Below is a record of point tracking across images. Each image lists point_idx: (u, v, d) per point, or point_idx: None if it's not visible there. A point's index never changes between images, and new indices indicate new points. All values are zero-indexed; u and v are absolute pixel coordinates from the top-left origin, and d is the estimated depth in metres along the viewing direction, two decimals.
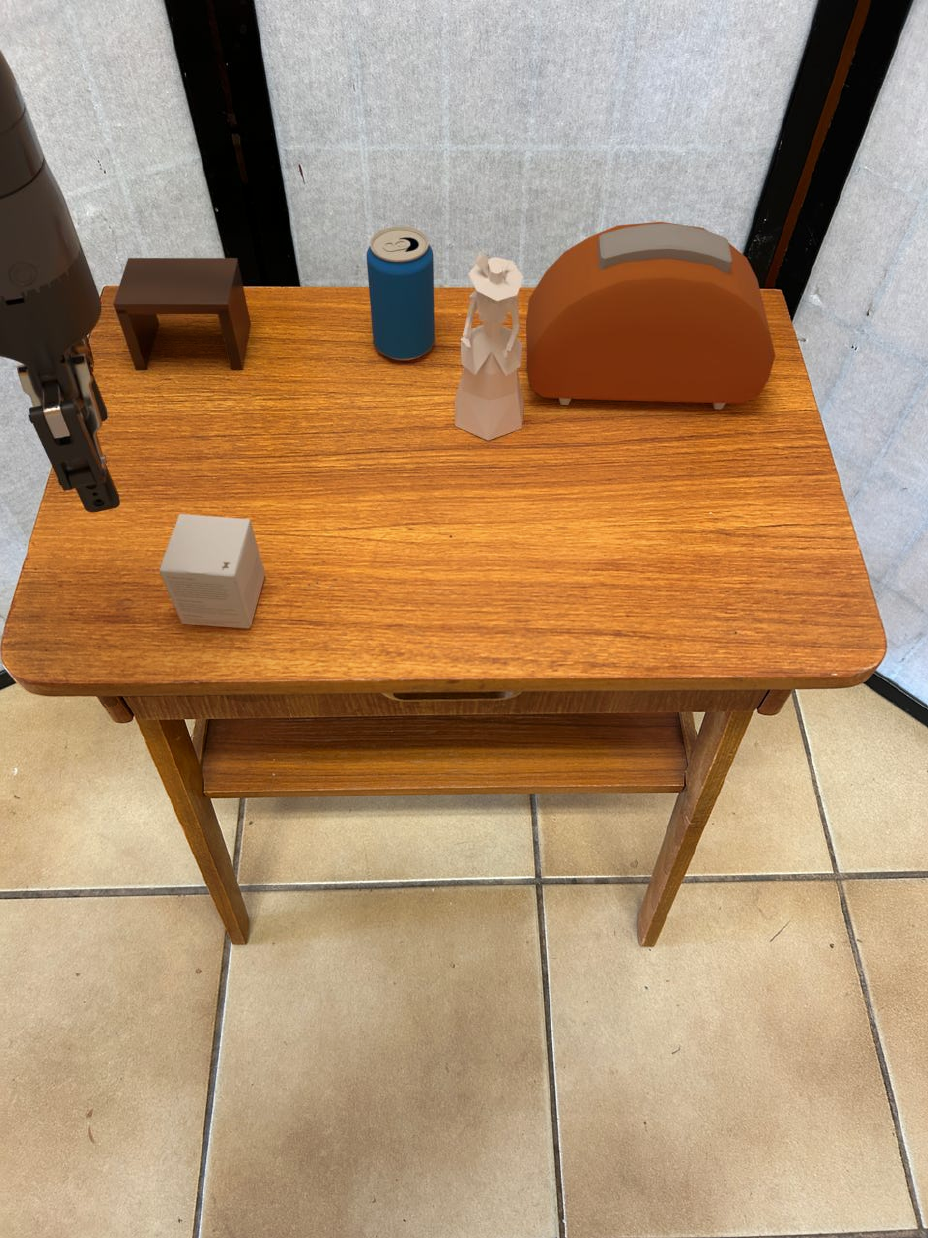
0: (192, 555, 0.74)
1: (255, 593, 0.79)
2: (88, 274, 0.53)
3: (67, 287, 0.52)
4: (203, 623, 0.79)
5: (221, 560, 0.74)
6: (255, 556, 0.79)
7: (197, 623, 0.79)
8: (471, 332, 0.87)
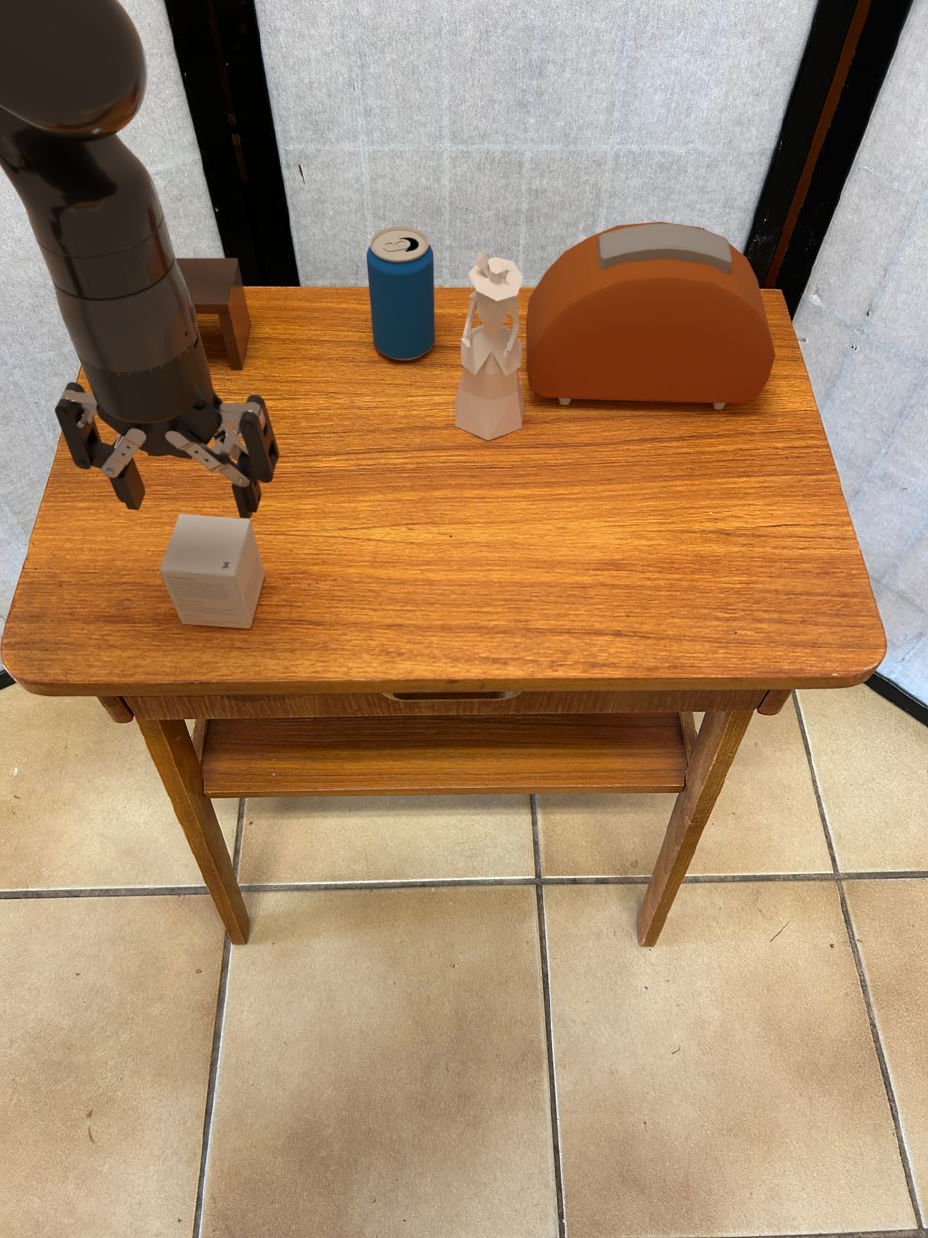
0: (192, 555, 0.74)
1: (255, 593, 0.79)
2: None
3: None
4: (203, 623, 0.79)
5: (221, 560, 0.74)
6: (255, 556, 0.79)
7: (197, 623, 0.79)
8: (471, 332, 0.87)
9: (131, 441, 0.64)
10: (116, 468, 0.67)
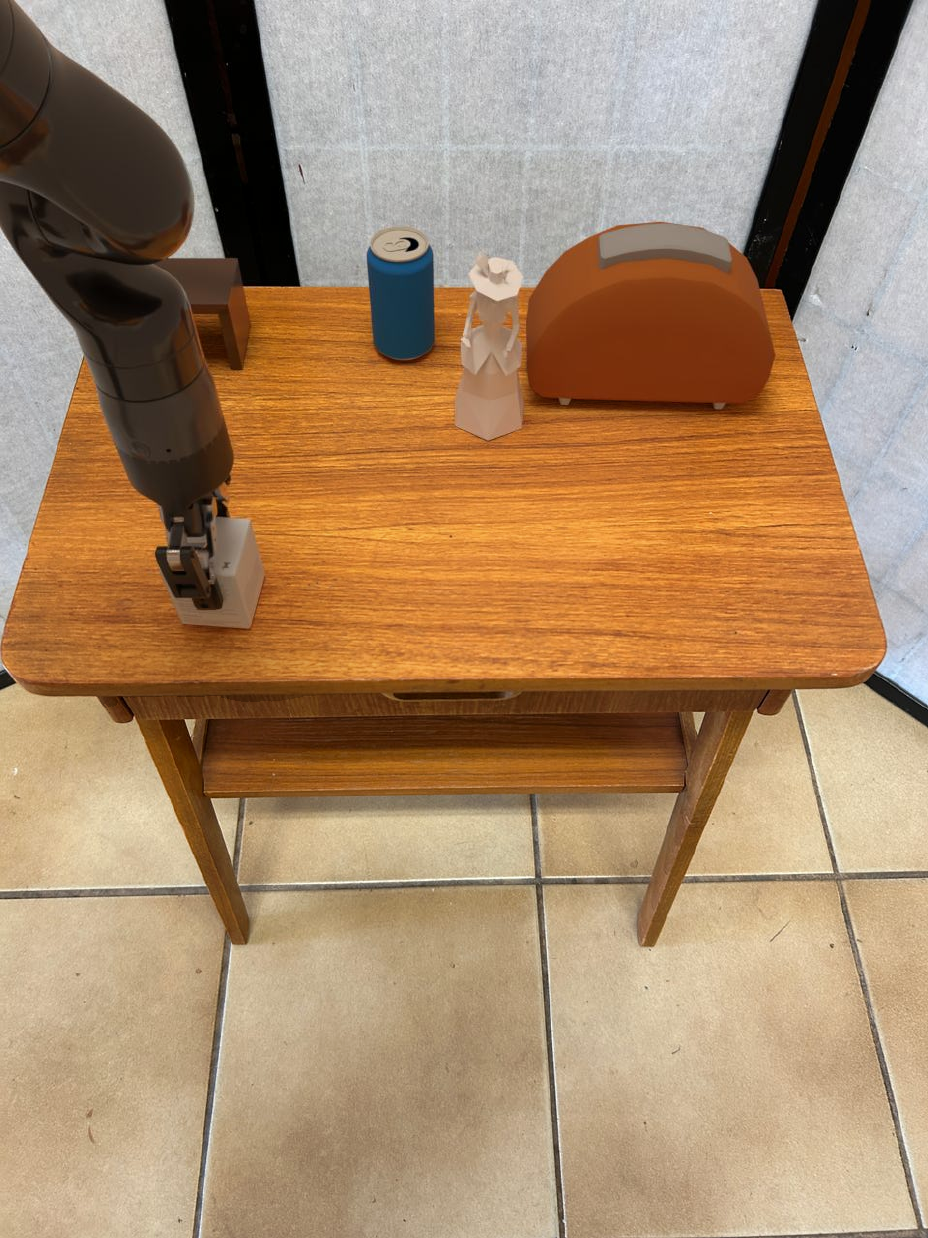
0: None
1: (255, 593, 0.79)
2: None
3: None
4: (203, 623, 0.79)
5: (221, 560, 0.74)
6: (255, 556, 0.79)
7: (197, 623, 0.79)
8: (471, 332, 0.87)
9: (214, 516, 0.70)
10: (213, 567, 0.72)
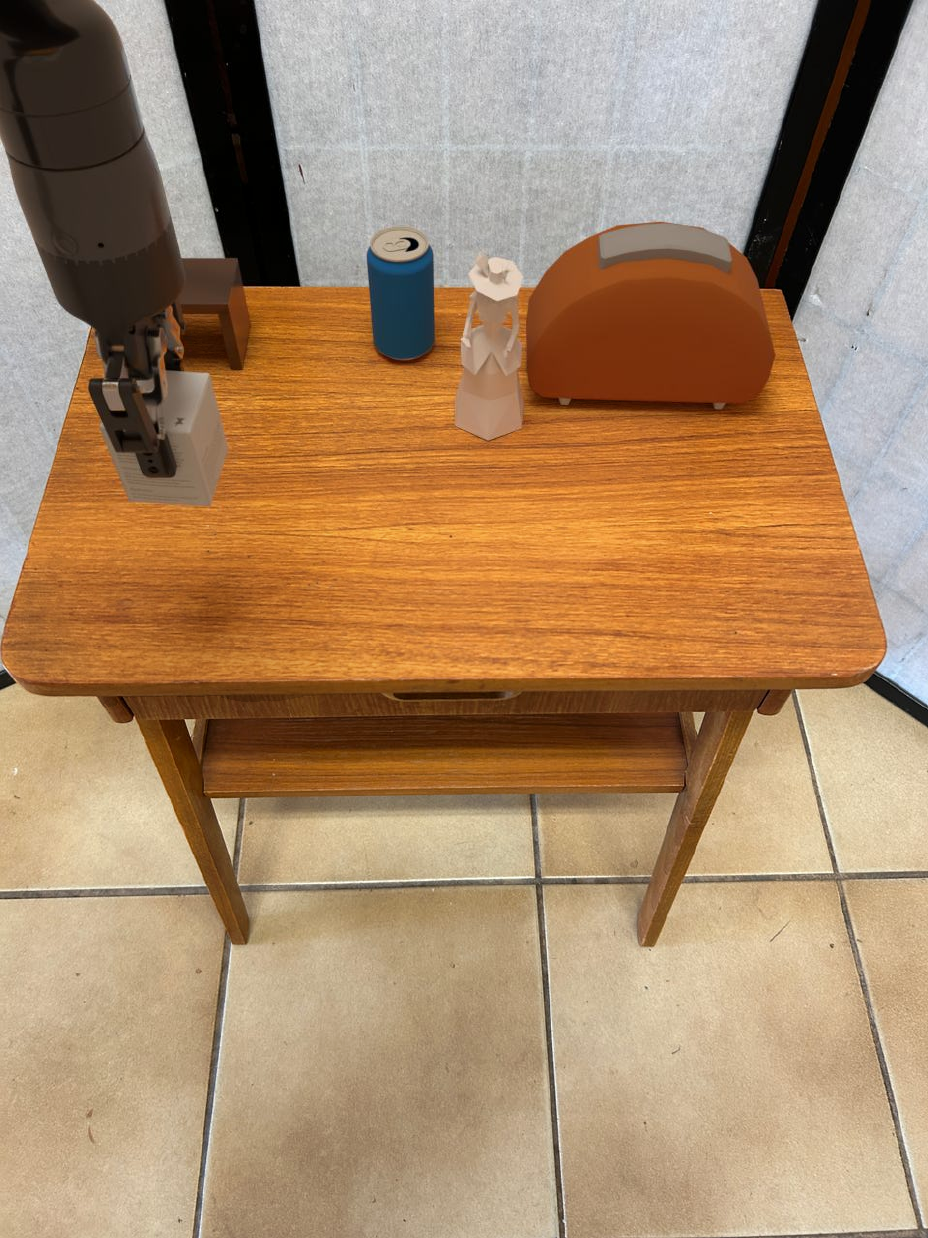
0: None
1: (216, 466, 0.68)
2: None
3: None
4: (155, 500, 0.67)
5: (174, 416, 0.62)
6: (216, 420, 0.67)
7: (148, 500, 0.67)
8: (471, 332, 0.87)
9: (163, 352, 0.58)
10: (162, 418, 0.60)
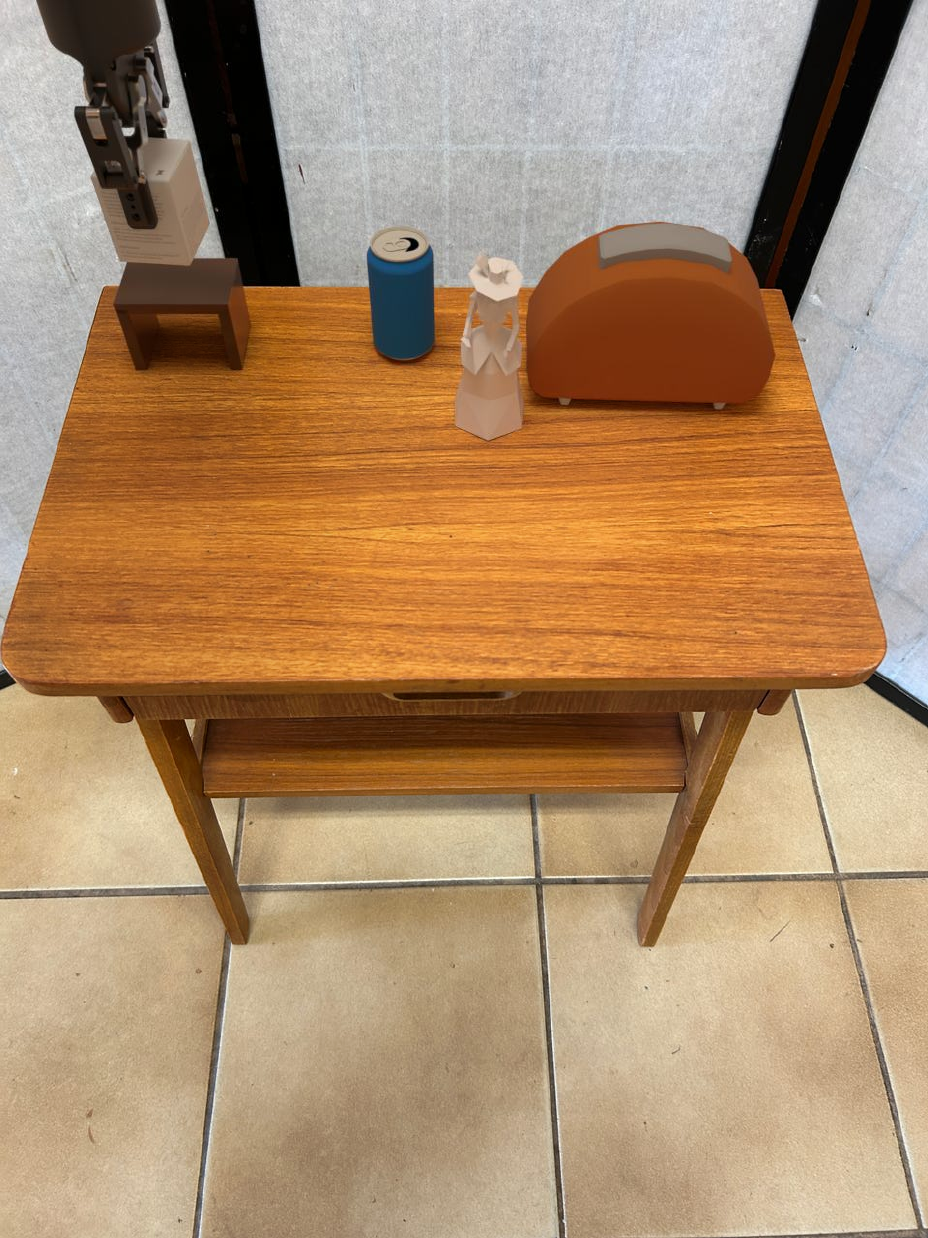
0: None
1: (196, 230, 0.76)
2: None
3: None
4: (141, 258, 0.76)
5: (155, 169, 0.71)
6: (196, 188, 0.75)
7: (135, 259, 0.76)
8: (471, 332, 0.87)
9: (142, 99, 0.67)
10: (143, 164, 0.69)
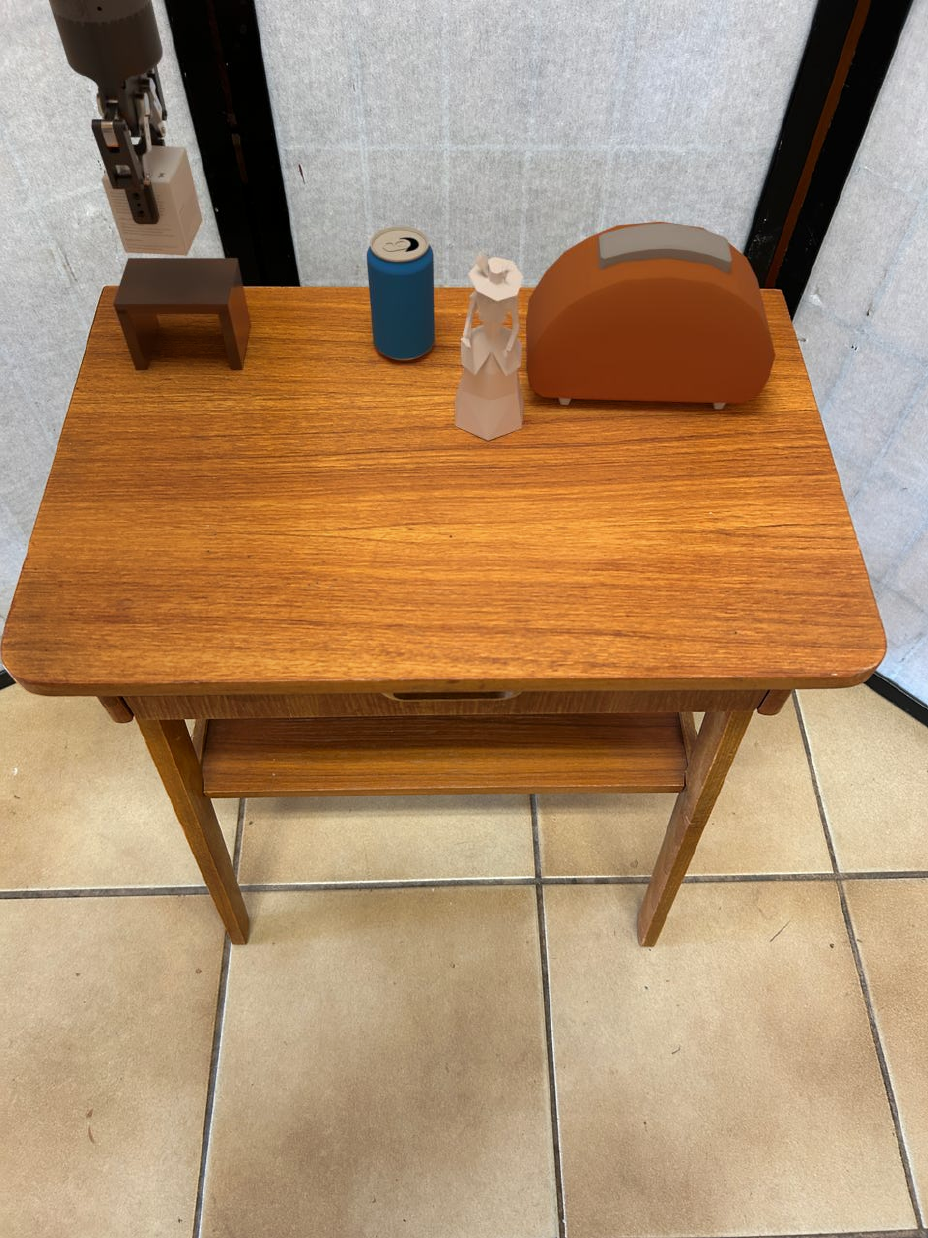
0: None
1: (191, 225, 0.88)
2: None
3: None
4: (144, 249, 0.87)
5: (157, 172, 0.83)
6: (191, 188, 0.87)
7: (139, 250, 0.88)
8: (471, 332, 0.87)
9: (147, 112, 0.79)
10: (147, 168, 0.81)
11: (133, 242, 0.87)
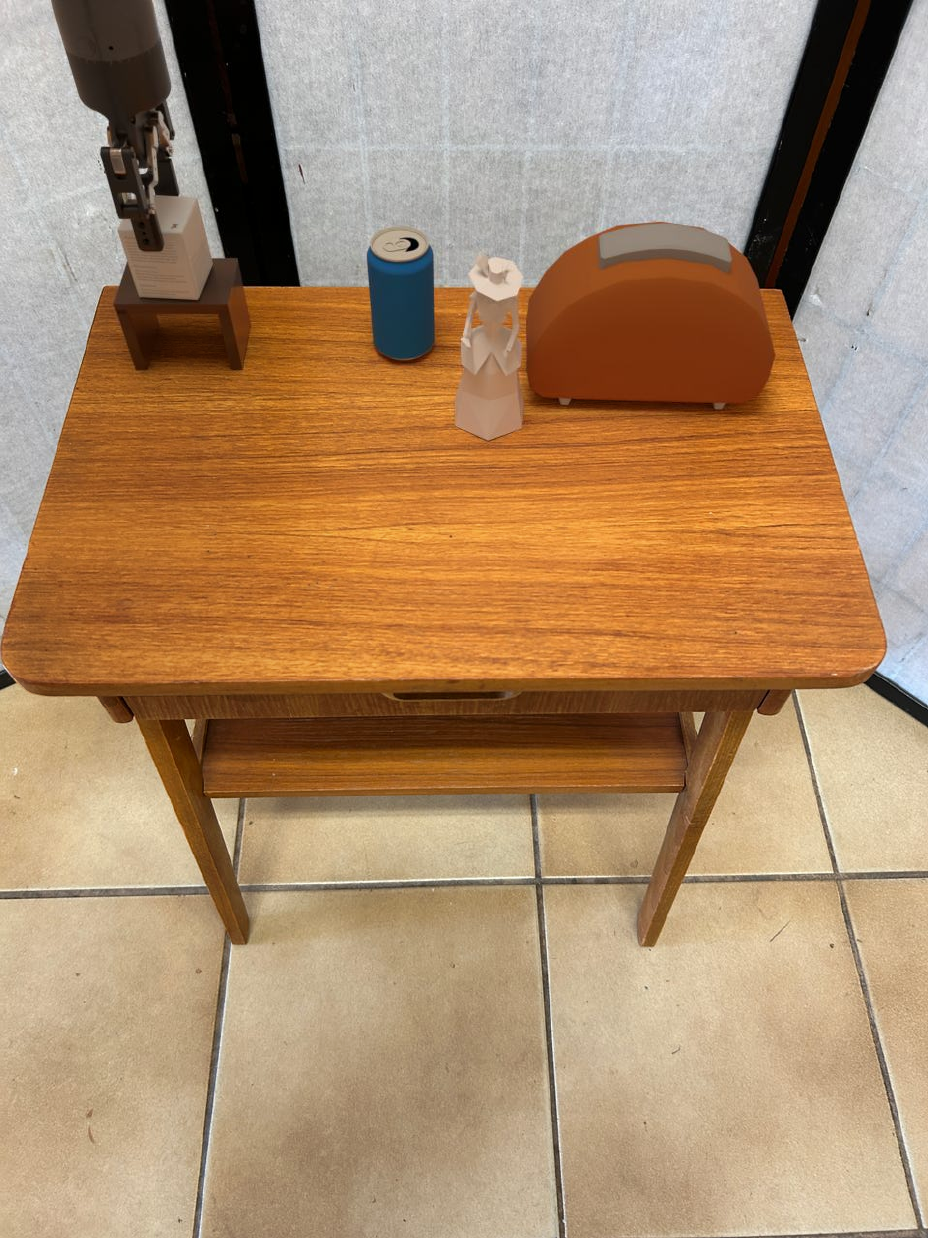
0: None
1: (203, 270, 0.92)
2: None
3: None
4: (157, 294, 0.91)
5: (170, 223, 0.87)
6: (202, 236, 0.91)
7: (152, 295, 0.91)
8: (471, 332, 0.87)
9: (155, 145, 0.81)
10: (153, 198, 0.82)
11: (147, 287, 0.91)
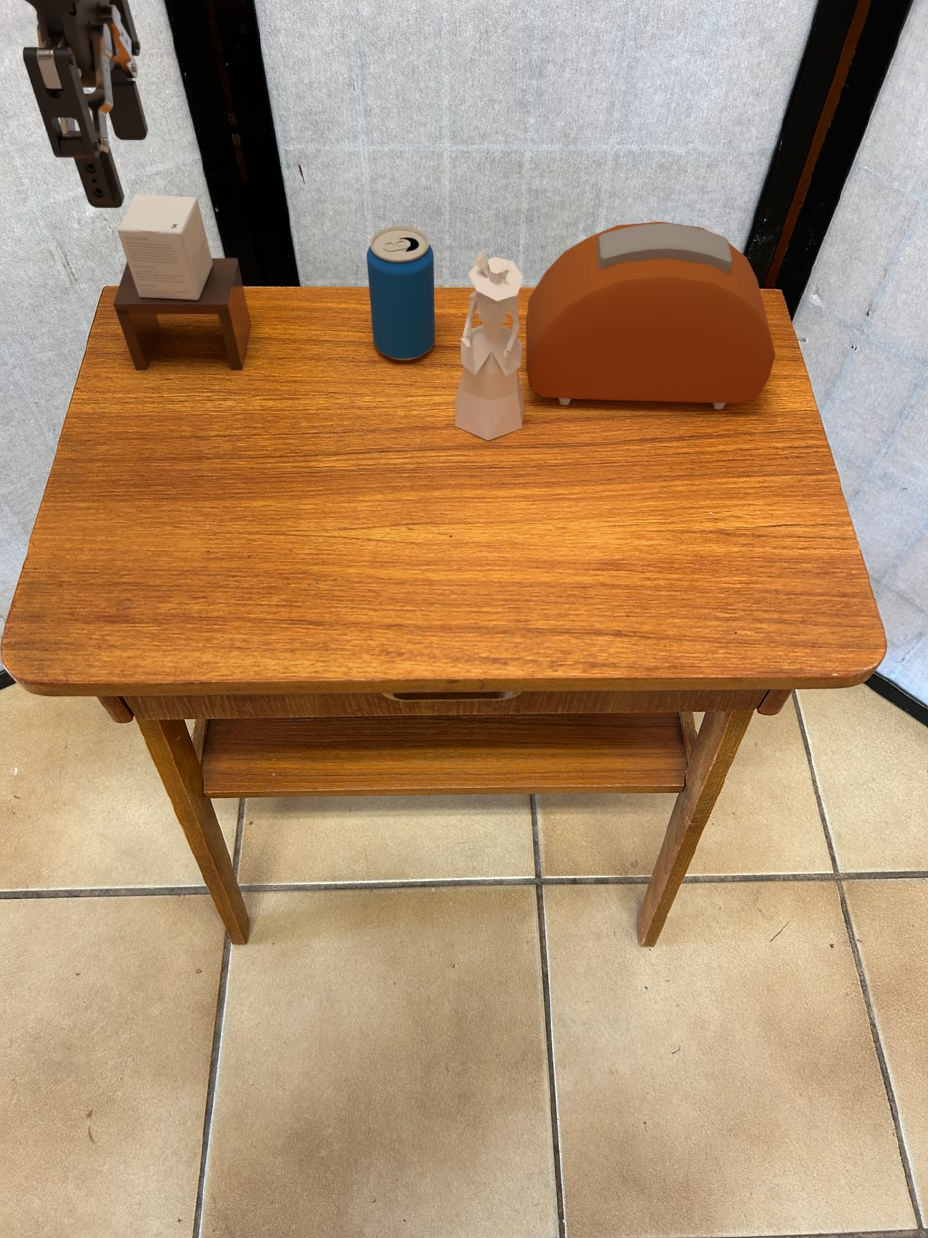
0: (146, 219, 0.87)
1: (203, 270, 0.92)
2: None
3: None
4: (157, 294, 0.91)
5: (170, 223, 0.87)
6: (202, 236, 0.91)
7: (152, 295, 0.91)
8: (471, 332, 0.87)
9: (107, 51, 0.57)
10: (105, 130, 0.58)
11: (147, 287, 0.91)
